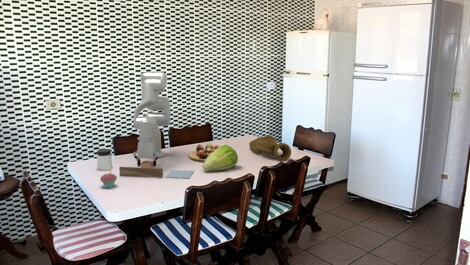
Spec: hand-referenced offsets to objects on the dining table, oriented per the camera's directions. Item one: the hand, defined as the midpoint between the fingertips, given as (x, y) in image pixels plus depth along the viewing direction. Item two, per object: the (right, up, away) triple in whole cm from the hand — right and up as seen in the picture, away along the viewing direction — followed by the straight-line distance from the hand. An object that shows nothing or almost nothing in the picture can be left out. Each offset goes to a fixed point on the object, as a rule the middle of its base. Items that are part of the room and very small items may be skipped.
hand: (146, 166), depth 234 cm
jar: (-28, -2, +5) cm, 28 cm away
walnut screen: (-1, -5, -10) cm, 11 cm away
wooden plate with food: (+37, +3, +37) cm, 53 cm away
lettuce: (+44, -2, +8) cm, 45 cm away
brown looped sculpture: (+80, +4, +39) cm, 89 cm away
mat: (+21, -5, -5) cm, 22 cm away
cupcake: (-15, -9, -27) cm, 32 cm away
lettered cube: (0, -3, +1) cm, 3 cm away
